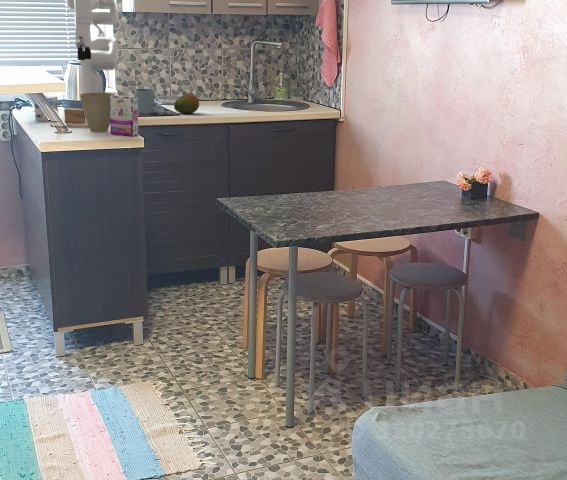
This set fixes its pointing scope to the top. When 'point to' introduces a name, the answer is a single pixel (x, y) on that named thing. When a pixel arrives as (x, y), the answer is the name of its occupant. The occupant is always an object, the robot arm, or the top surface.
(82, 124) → the board
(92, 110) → the plant pot
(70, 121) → the sanding block
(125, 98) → the candy bar box
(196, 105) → the fruit
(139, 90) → the blue-green cup
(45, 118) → the light bulb box
